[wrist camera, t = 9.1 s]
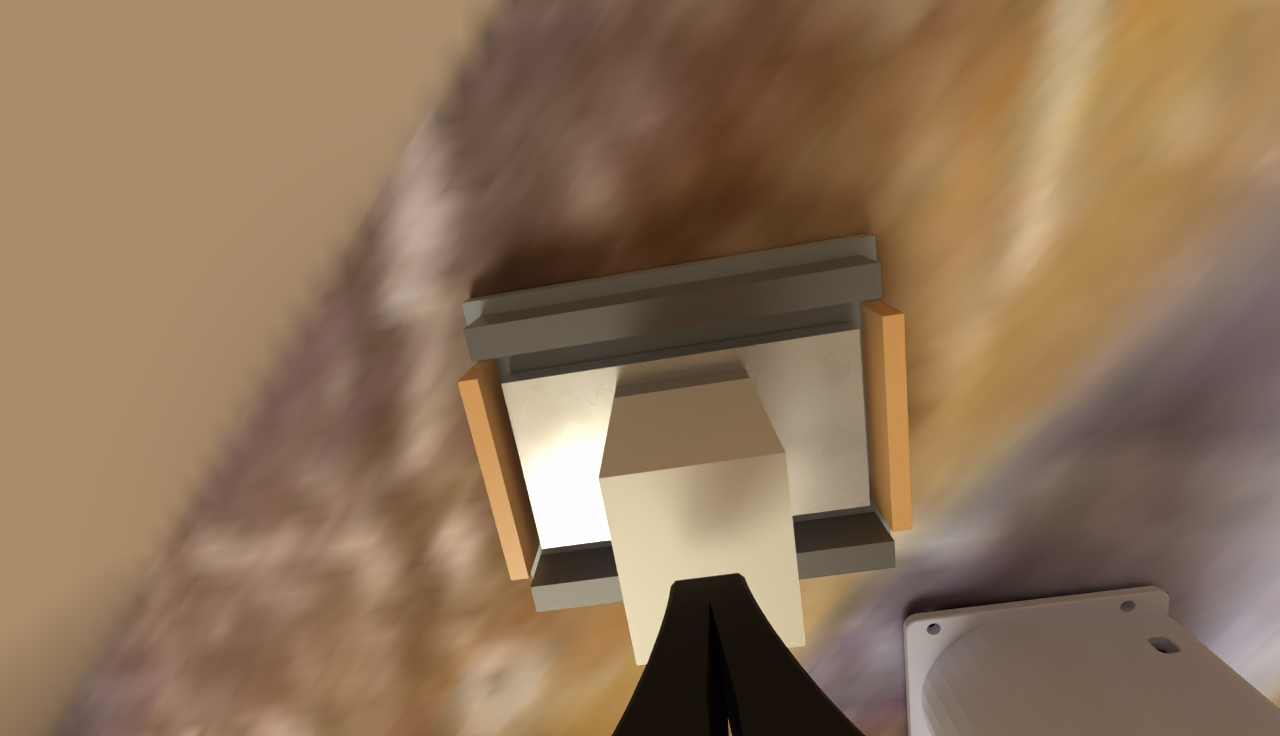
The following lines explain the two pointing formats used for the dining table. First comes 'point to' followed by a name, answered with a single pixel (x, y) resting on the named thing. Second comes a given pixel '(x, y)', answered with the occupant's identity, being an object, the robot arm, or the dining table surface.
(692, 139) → the dining table surface
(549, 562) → the rail panel
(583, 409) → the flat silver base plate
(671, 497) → the block
